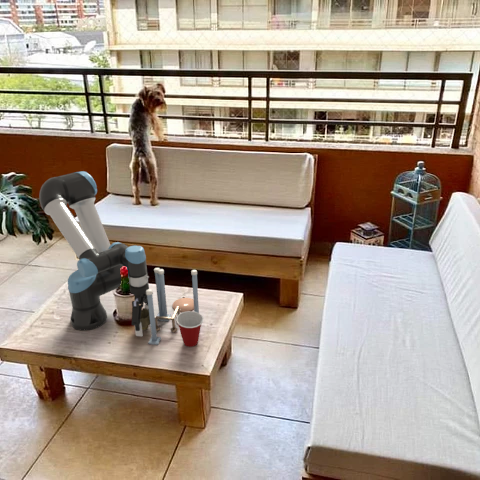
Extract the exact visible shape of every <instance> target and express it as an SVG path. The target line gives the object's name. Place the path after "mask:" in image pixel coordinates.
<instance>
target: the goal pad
mask: <svg viewBox="0 0 480 480" xmlns="http://www.w3.org/2000/svg"><path fill="white" fill-rule="evenodd" d="M177 306H179V308H180V313H182V312H186V311H194V299H193V298H191V297H181V298H178V299H176V300H175V301H173V303H172V309H173V310H174V311H175V310H176V308H177Z"/></svg>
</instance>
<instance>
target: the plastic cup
mask: <svg viewBox="0 0 480 480" xmlns="http://www.w3.org/2000/svg"><path fill="white" fill-rule="evenodd" d="M176 316H177V315H176ZM175 321H176V323H177V325H178V329H179V331H180V336H181V338H182V342H183V344H184V346H186V347H195V346H197V345H198V343H199V339H200V338H199V337H200V333H201V328H202V324H203V323H204V317H203V314H201V313H200V312H199V313H197V312H194V310H191V311H186V312H180V314H179V315H178V316H177V318H176V317H175Z"/></svg>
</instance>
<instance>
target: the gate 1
mask: <svg viewBox="0 0 480 480" xmlns="http://www.w3.org/2000/svg"><path fill="white" fill-rule="evenodd" d="M158 274H159V281H160V291H161V302H162V312H163V317H172V314H168V308H167V307H168V305H167V295H166V285H165V275H164V274H165V270H164V269H163V268H160V270H158ZM153 292H154V291H153V289H151V288H149V289H148V290H146V294H147V299H148V308H149V316H150V325H149V326H150V330H151V331H150V332H151V334H150V335H151V336H150V339H149V340H148V345H154V346H155V345H157V346H159V344H160V342H161V339H162V337H161V336H157V331H156V324H155V317H156V316H155V309H154V308H155V307H154V297H153ZM159 321H160V322H170V320H162V319H159Z"/></svg>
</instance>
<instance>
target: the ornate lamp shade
mask: <svg viewBox="0 0 480 480" xmlns="http://www.w3.org/2000/svg"><path fill="white" fill-rule="evenodd" d="M140 322H141V325H142V331H146V330H148V329H149V327H150V326H151V325H150V316H149V309H148V310H147V309H146V308H144V307H142V310H141V319H140Z"/></svg>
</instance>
